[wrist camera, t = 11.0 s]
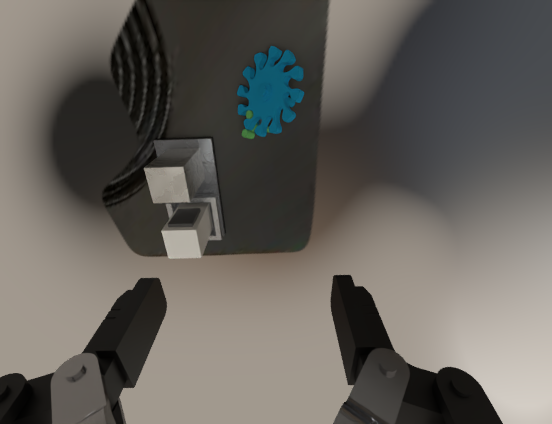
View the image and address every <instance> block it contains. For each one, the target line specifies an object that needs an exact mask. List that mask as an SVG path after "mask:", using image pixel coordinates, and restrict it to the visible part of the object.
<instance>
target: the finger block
mask: <svg viewBox="0 0 552 424" xmlns="http://www.w3.org/2000/svg"><path fill="white" fill-rule="evenodd" d="M212 229H213V224H212V217H211V211H210V205H209V202H208V203H180V204H179V206H178V207H177V209H176V210H175V212H174V213H173V215H172V216H171V217H170V219H169V220H168V222H167V223H166V225H165V226H164V228H163V229H162V235H163V239H164V242H165V246H166V250H167V254H168V257H169V259H170V258H201V257H202V255H203V252H204V250H205V247H206V245H207V242H208V239H209V237H210V234H211V231H212Z"/></svg>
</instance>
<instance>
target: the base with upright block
mask: <svg viewBox="0 0 552 424" xmlns="http://www.w3.org/2000/svg"><path fill="white" fill-rule="evenodd" d="M153 141H154V145H155V149H156V153H157V158H156V159H155V160H153V161H152V162H151V163H150V164H148V165H147V166H146V167H145V168H144V170H145V174H146V178H147V181H148V185H149V189H150V192H151V196H152V200H153V203H162V204H166V206H167V210H168V214H169V219H170V217H171V216H172V215H173V213H174V212H175V210H176V209H177V207H178V206H179V204H180V203H208V202H209V205H210V211H211V217H212V224H213V229H212V231H211V234H210V237H209V239H208V240H222V237H223V236H225V233H226V231H225V224H224V217H223V209H222V202H221V195H220V188H219V180H218V173H217V166H216V159H215V151H214V144H213V137H200V138H167V139H155V140H153Z"/></svg>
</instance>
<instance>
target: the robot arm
mask: <svg viewBox="0 0 552 424" xmlns="http://www.w3.org/2000/svg"><path fill="white" fill-rule="evenodd" d="M166 308H167V302H166V298H165V295H164V292H163V288H162V285H161V282H160V279H159V278H141V279H139V280H138V282H137V283H136V285H135V287H134V288H133V290H128V291H126V292H125V293H124V294H123V295H121V296H120V297H119V298H118V299H117V300H116V302H115V303H114V305H113V306H112V308H111V311H109V313H108V314H107V316H106V317H105V320H103V322H102V323H101V325H100V326H99V328H98V329H97V331H96V333H95V334H94V336H93V337H92V339H91V340H90V342H89V343H88V345H87V346H86V348H85V349H84V351H83V352H82V353H81V354H79V355H76V356H74V357H72V358H70V359H69V360H67V361H66V362H64V363H63V364H62V365H61V366H60V367H59V368H58V369H57V370H56V372H54V373H51V374H48V375H45V376H41V377H38V378H35V379H31V380H28V381H27V380H26V379H25V377H24V376H23V375H22V374H19V373H13V374H8V375H5V376H2V377H0V424H126V421H125V417H124V413H123V409H122V405H121V401H120V398H119V396H120V394H121V392H122V390H123V388H134V387H135V385H136V382H137V380H138V377H139V375H140V373H141V370H142V368H143V366H144V363H145V361H146V359H147V356H148V354H149V351H150V349H151V347H152V345H153V342H154V340H155V338H156V335H157V333H158V331H159V328H160V326H161V324H162V321H163V319H164V317H165V313H166ZM331 312H332V316H333V321H334V325H335V329H336V334H337V337H338V343H339V347H340V351H341V356H342V360H343V365H344V369H345V373H346V378H347V382H348V385H354V387H353V389H352V391H351V393H350V396H349V397H348V399H347V401H346V402H344V403H343V405H342V406H341V408H340V410H339V412H338V415H337V416H336V418H335V421H334V423H333V424H503V423H502V421H501V420H500V418H499V416H498V415H497V413H496V411H495V409H494V407H493V406H492V404H491V402H490V400H489V399H488V397H487V395H486V394H485V392H484V390H483V388H482V387H481V385H480V384H479V383H478V382H477V381H476V380H475V379H474V378H473V377H472V376H471V375H469V374H468V373H466V372H464V371H462V370H460V369H458V368H453V367H445V368H442V369H441V370H440V371H439V372H438V373H434V372H430V371H427V370H423V369H420V368H417V367H414V366H412V365H410V364H408V363H406V362H405V360H404V359H403V358H402V357H401V356H400V355H399V354H398V353H396V352H395V350H394V348H393V346H392V344H391V342H390V339H389V337H388V334H387V332H386V329H385V327H384V325H383V322H382V320H381V317H380V316H379V313H378V310H377V308H376V306H375V303H374V300H373V298H372V295H371V294H370V293H369V292H368V291H367V290H366V289H365V288H364V287H363V286H358V287H355V285H354V282H353V280H352V277H351V275H334V276H333V284H332V292H331Z"/></svg>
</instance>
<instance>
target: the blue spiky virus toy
mask: <svg viewBox="0 0 552 424" xmlns="http://www.w3.org/2000/svg"><path fill="white" fill-rule="evenodd" d="M281 55H282V51H281V50H279V49H278V48H276V47H274V46H271V47H270V49H269V56H268V60H267V56H266V55H265V54H263V53H261V52H260V53H257V54H256V55H255V56H254V61H255V63H256V74H255V71H254V69H253V68H251V67H249V66H248V67H246V68H245V70H244V71H243V76H244V77H245V78H247V80H248V82H249V86H250V90H249V92H248V88H247V87H245V86H242V85H240V86H239V88H238V91H237V95H238V96H241V97H246V98H247V99H248V100H249V105H248V106H246V105H243V104H239V105H238V114H239V115H243V116H246V118H247V119H245V120H244V126H245V128H246V129H244V130H243V131H242V136H243V137H244V138H249V139H253V138H254V136H255V133H256V134H257V135H259V136H262V137H265V136H266V134H267V132H269V133H274V134H278V133H281V131H282V127H281V125H280V113H281V110H282V109H283V115H282V118H283V120H284V121H285V122H288V123H289V122H291V121H292V120H293V119H294V118H295V117H296V114H295V112H293V111H292V110H291V109H290V108H289V107H293V106H294V105H295V102H297V103H300V102H301V100H302V98H303V96H304V92H303V91H302V90H300V89H298V88H296V89H291V88H290V87H289V85H288V82H289V80H290V79H291V78H293V79H295V80H297V81H301V80H302V79H303V69H302V68H301V67H299V66H295V67H294V68H293V69H291V70H290V71H288V72H284V73H283V70H284V67H285V66H286V65H292V64H294V62H295V61H296V59H295V56H294V54H293V53H292V52H291V51H289V50H286V51H285V52H284V54H283V56H282V58H281V60H280V61H279V62H278V63H277V64H276V65H275V66H274V63H275V61H276V60H278V59H279V58H280V57H281ZM266 60H267V63H266V65H265V66H264V64H265V62H266ZM263 66H264V68H263ZM254 74H255V77H254ZM289 95H290V96H291V98H289V97H288V96H289ZM272 118H273V121H272V123H271V125H270V126H269V127H268V124H269V122H270V120H271V119H272Z"/></svg>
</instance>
